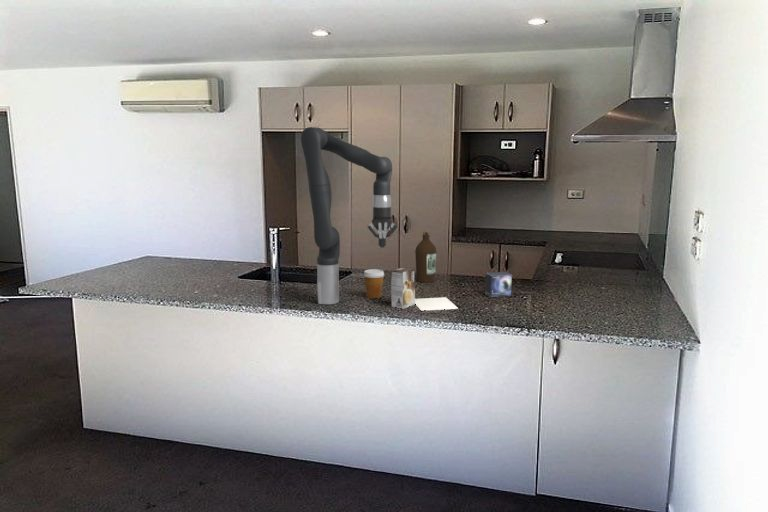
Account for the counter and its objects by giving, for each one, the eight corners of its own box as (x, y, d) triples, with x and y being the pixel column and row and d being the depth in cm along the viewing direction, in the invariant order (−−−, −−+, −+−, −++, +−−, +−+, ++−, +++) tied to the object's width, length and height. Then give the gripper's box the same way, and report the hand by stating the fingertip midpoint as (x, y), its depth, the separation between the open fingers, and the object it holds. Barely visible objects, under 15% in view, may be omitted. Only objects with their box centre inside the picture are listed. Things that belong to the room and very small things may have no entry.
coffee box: (403, 302, 255) (403, 266, 252) (415, 304, 251) (415, 268, 248) (390, 306, 248) (390, 270, 245) (403, 309, 244) (403, 271, 241)
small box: (490, 298, 261) (491, 275, 260) (484, 295, 268) (484, 272, 266) (511, 296, 264) (512, 274, 262) (505, 293, 270) (505, 271, 269)
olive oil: (410, 280, 297) (411, 232, 292) (424, 277, 304) (425, 230, 300) (426, 284, 289) (426, 234, 285) (440, 280, 297) (441, 232, 292)
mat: (420, 310, 242) (420, 309, 242) (411, 299, 259) (411, 299, 259) (457, 308, 244) (457, 307, 244) (446, 298, 262) (446, 297, 262)
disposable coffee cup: (360, 295, 267) (360, 270, 265) (380, 293, 270) (380, 268, 268) (367, 300, 258) (367, 274, 256) (387, 298, 261) (387, 272, 259)
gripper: (367, 207, 235) (367, 249, 239) (399, 206, 238) (399, 248, 241) (364, 205, 243) (365, 246, 246) (395, 204, 245) (395, 245, 248)
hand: (382, 247), depth 243 cm, fingers closed
